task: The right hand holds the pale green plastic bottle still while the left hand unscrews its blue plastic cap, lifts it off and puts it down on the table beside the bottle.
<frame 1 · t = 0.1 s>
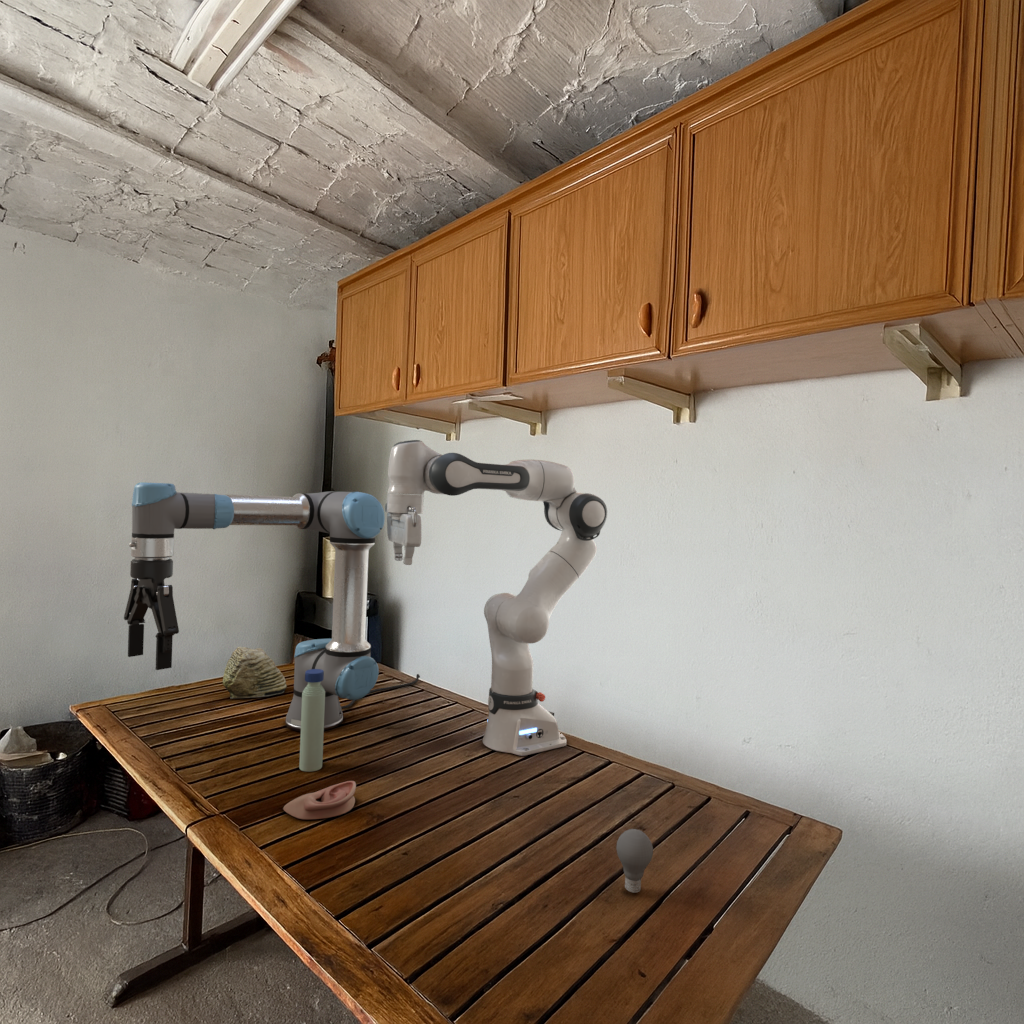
left hand: (149, 662, 129), 28 cm above the table, tool pointing down, fingers open, 13 cm apart
right hand: (402, 562, 155), 48 cm above the table, tool pointing down, fingers open, 8 cm apart
cap: (314, 672, 148), point 22 cm above the table, screwed on, not yet turned
bottle: (310, 767, 148), on the table
light bulb: (632, 891, 106), on the table
fossil: (254, 694, 198), on the table
anatomical model: (319, 807, 129), on the table
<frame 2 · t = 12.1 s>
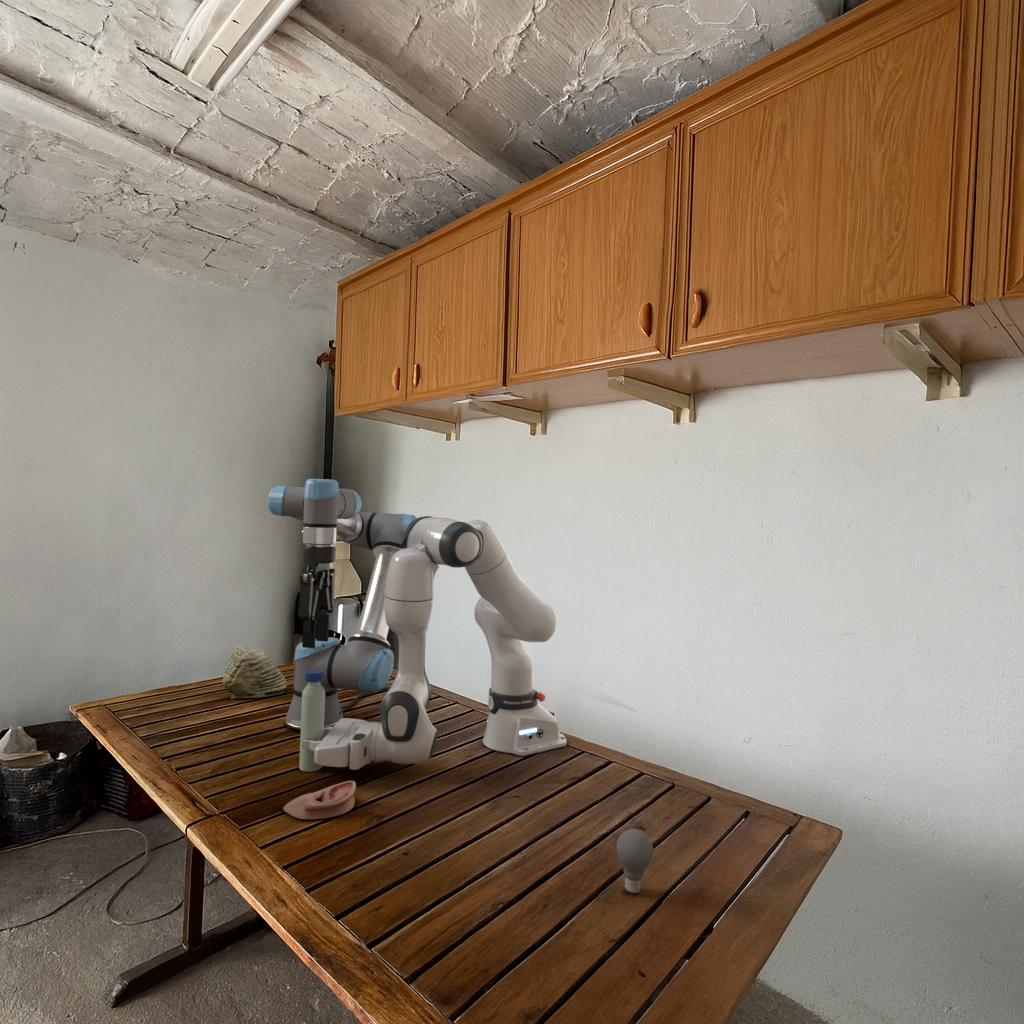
left hand: (315, 643, 147), 29 cm above the table, tool pointing down, fingers open, 6 cm apart
right hand: (308, 738, 148), 7 cm above the table, tool horizontal, fingers closed on bottle, 5 cm apart
bottle: (310, 767, 148), on the table, touching right hand
everything else where it was.
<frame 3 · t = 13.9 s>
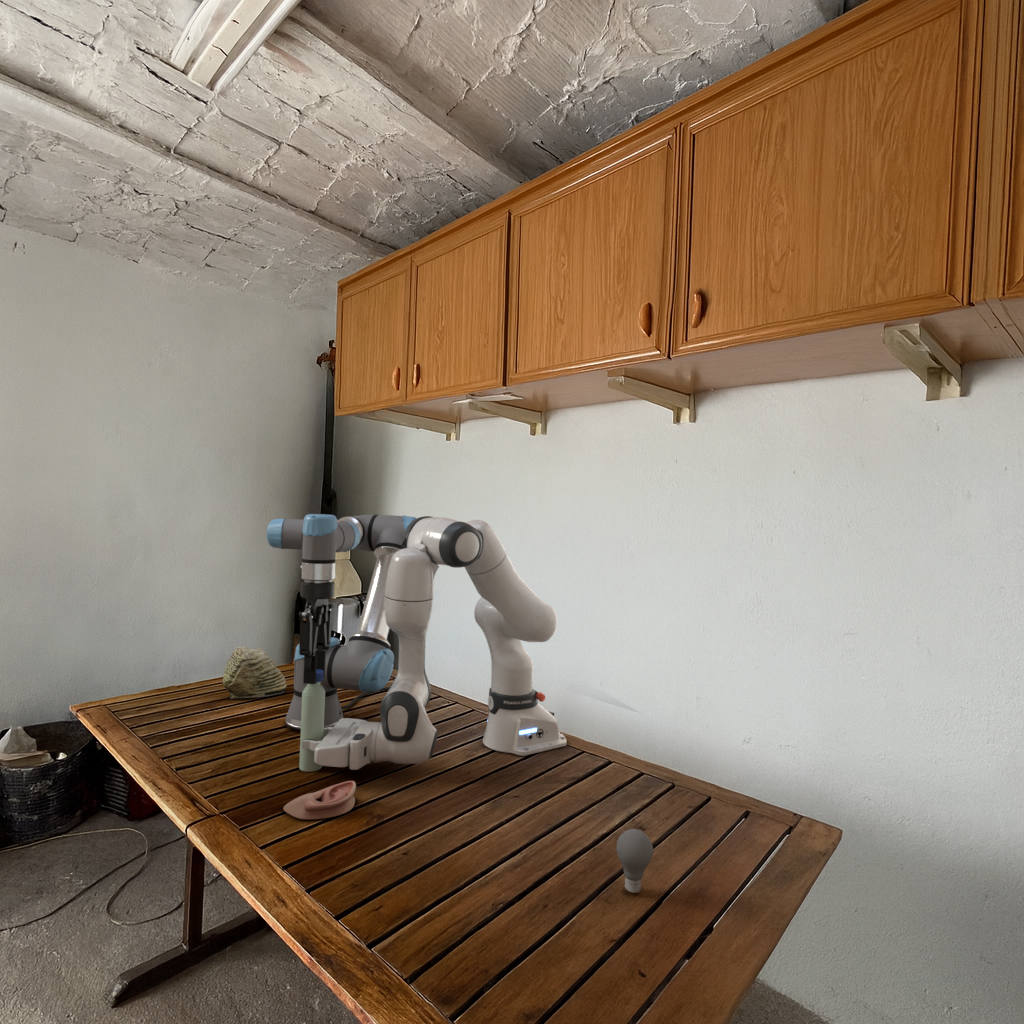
left hand: (314, 680, 148), 20 cm above the table, tool pointing down, fingers closed on cap, 4 cm apart
right hand: (308, 738, 148), 7 cm above the table, tool horizontal, fingers closed on bottle, 5 cm apart
cap: (314, 672, 148), point 22 cm above the table, screwed on, not yet turned, touching left hand
bottle: (310, 767, 148), on the table, touching right hand
everything else where it was.
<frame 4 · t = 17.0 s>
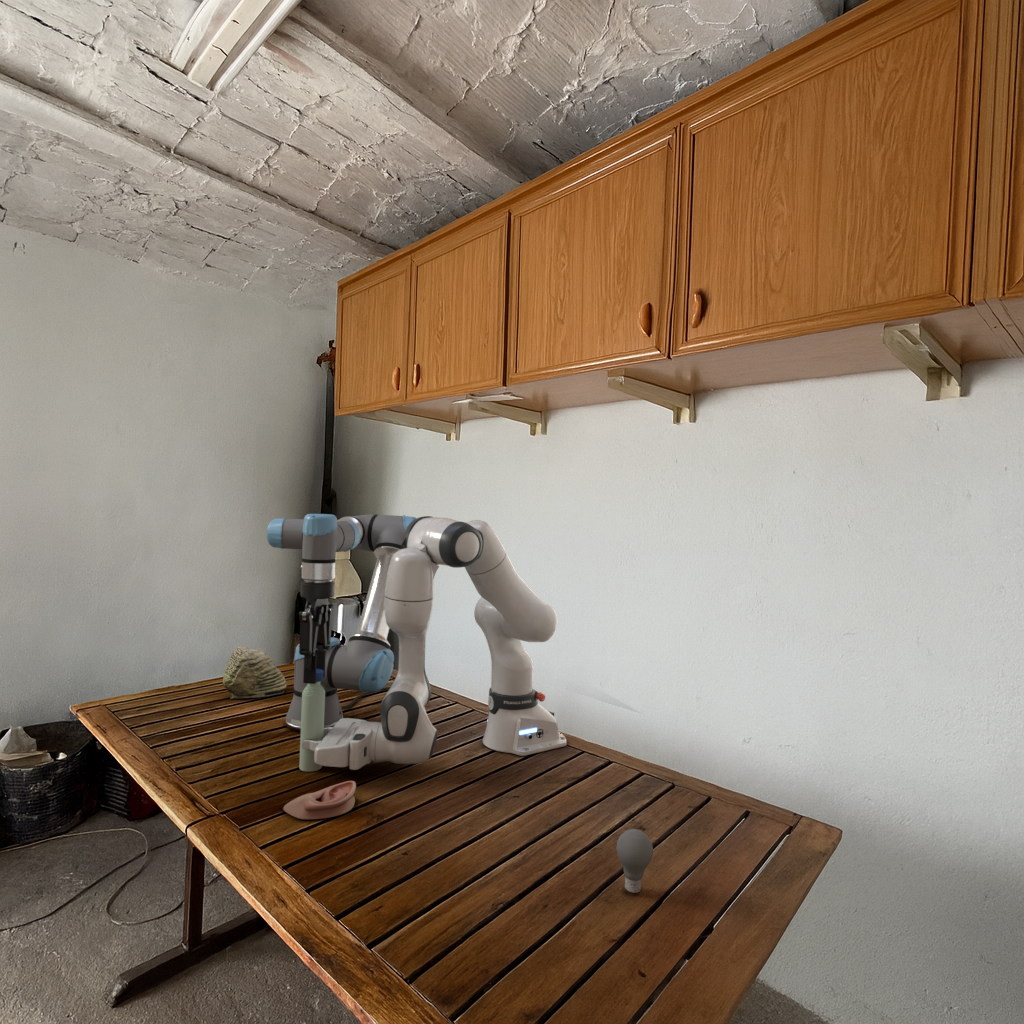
left hand: (314, 680, 148), 20 cm above the table, tool pointing down, fingers closed on cap, 4 cm apart
right hand: (308, 738, 148), 7 cm above the table, tool horizontal, fingers closed on bottle, 5 cm apart
cap: (314, 672, 148), point 22 cm above the table, turned 84° so far, risen 0.1 cm, still on its thread, touching left hand
bottle: (310, 767, 148), on the table, touching right hand
everything else where it was.
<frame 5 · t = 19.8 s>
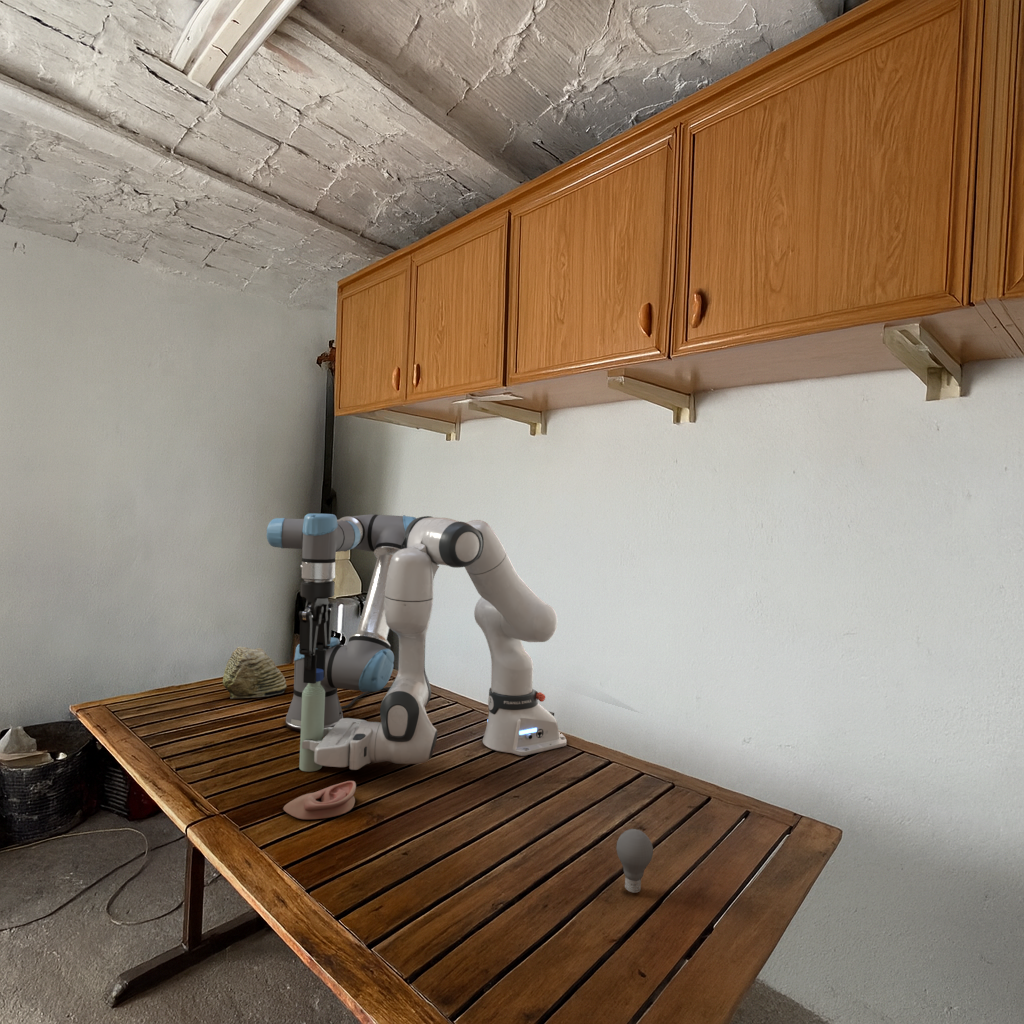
left hand: (314, 679, 148), 21 cm above the table, tool pointing down, fingers closed on cap, 4 cm apart
right hand: (308, 738, 148), 7 cm above the table, tool horizontal, fingers closed on bottle, 5 cm apart
cap: (314, 671, 148), point 22 cm above the table, turned 168° so far, risen 0.1 cm, still on its thread, touching left hand
bottle: (310, 767, 148), on the table, touching right hand
everything else where it was.
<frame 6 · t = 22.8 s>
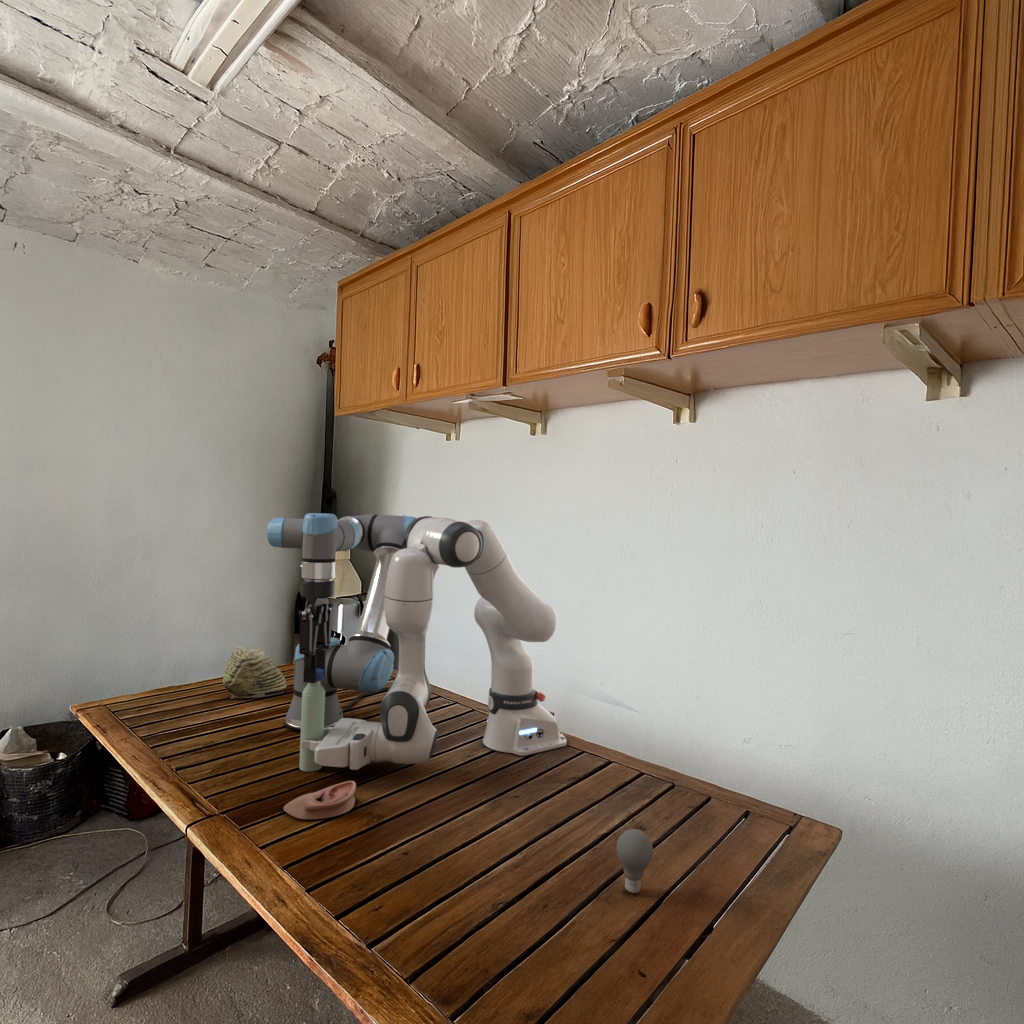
left hand: (314, 679, 148), 21 cm above the table, tool pointing down, fingers closed on cap, 4 cm apart
right hand: (308, 738, 148), 7 cm above the table, tool horizontal, fingers closed on bottle, 5 cm apart
cap: (314, 671, 148), point 22 cm above the table, turned 253° so far, risen 0.2 cm, still on its thread, touching left hand
bottle: (310, 767, 148), on the table, touching right hand
everything else where it was.
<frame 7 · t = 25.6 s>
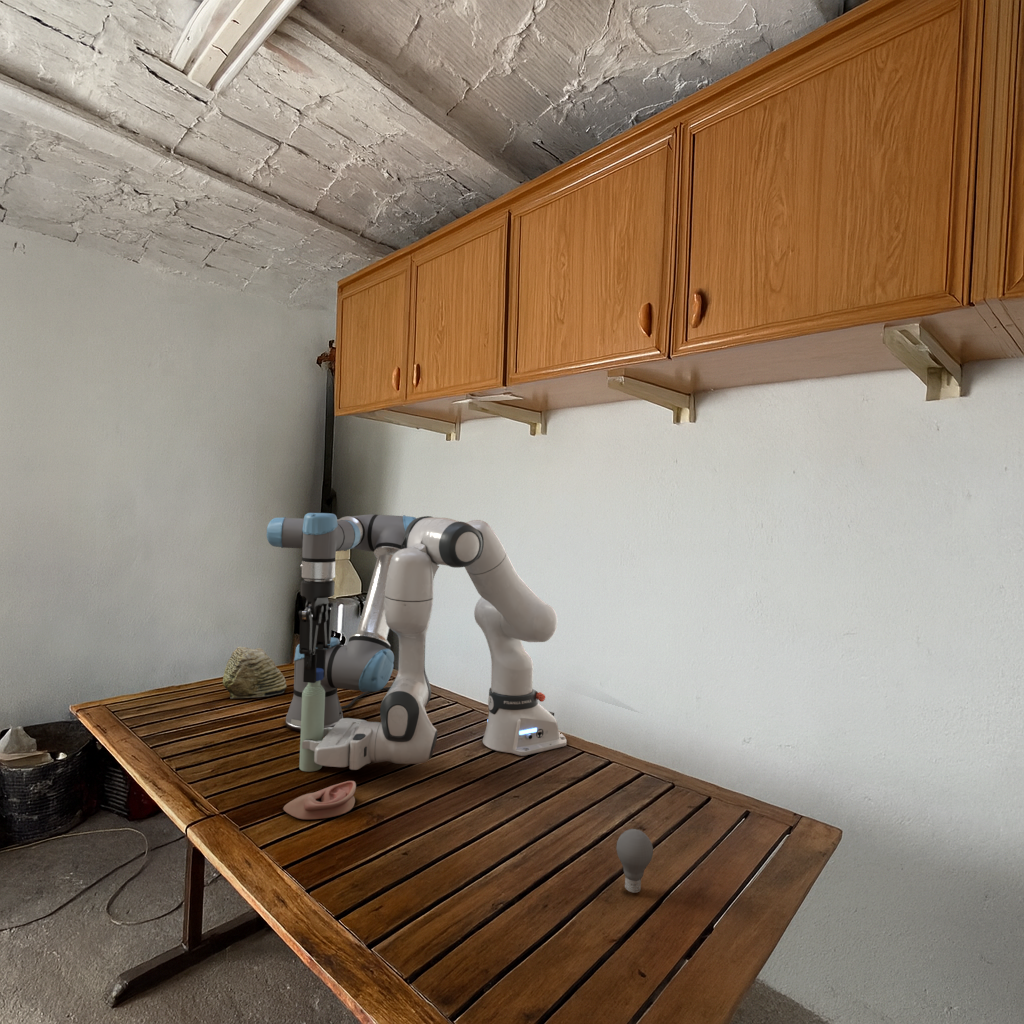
left hand: (314, 679, 148), 21 cm above the table, tool pointing down, fingers closed on cap, 4 cm apart
right hand: (308, 738, 148), 7 cm above the table, tool horizontal, fingers closed on bottle, 5 cm apart
cap: (314, 671, 148), point 23 cm above the table, turned 337° so far, risen 0.3 cm, still on its thread, touching left hand
bottle: (310, 767, 148), on the table, touching right hand
everything else where it was.
when the left hand's fingers open (1 cm above the table, at t = 34.9 s): cap drops 1 cm, point 2 cm above the table.
when the right hand's fingers open (7 cm above the table, at t = 36.2 s): bottle stays where it is, on the table.
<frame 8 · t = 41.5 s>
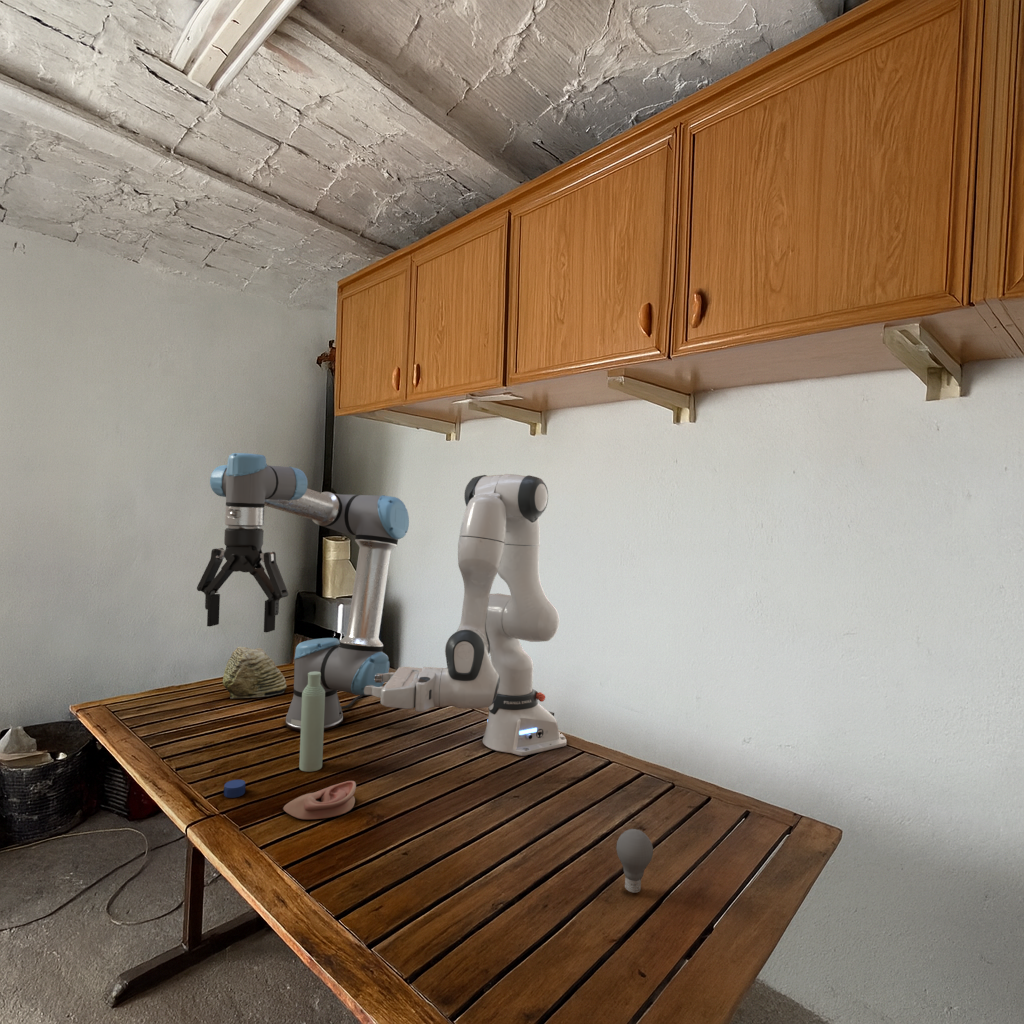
left hand: (240, 628, 133), 35 cm above the table, tool pointing down, fingers open, 13 cm apart
right hand: (370, 683, 147), 20 cm above the table, tool horizontal, fingers open, 8 cm apart
cap: (234, 785, 134), point 2 cm above the table, off its thread
bottle: (310, 767, 148), on the table
everything else where it was.
at the end: cap came off its thread; cap point 1.8 cm above the table; the left hand is holding nothing; the right hand is holding nothing; bottle tilted 0°; bottle moved 0.0 cm from its start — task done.
